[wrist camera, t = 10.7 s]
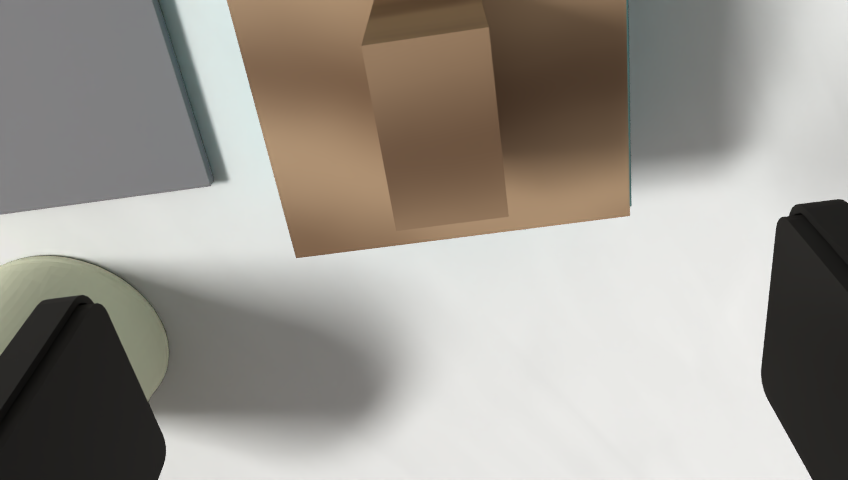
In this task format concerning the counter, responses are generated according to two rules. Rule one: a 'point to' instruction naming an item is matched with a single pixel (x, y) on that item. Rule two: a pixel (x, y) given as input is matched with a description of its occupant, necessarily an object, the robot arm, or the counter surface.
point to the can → (129, 311)
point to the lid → (438, 115)
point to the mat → (92, 105)
